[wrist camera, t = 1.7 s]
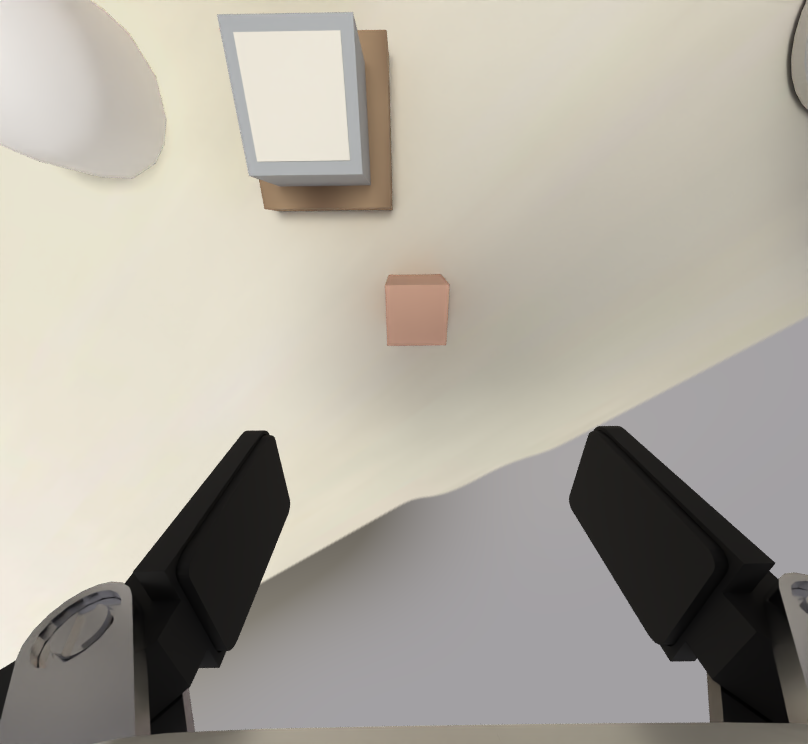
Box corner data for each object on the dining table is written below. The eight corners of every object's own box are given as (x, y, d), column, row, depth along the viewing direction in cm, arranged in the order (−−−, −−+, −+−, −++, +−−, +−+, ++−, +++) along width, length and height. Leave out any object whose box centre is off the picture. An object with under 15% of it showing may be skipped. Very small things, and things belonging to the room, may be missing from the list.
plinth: (388, 54, 22) (386, 29, 19) (392, 209, 26) (391, 207, 23) (252, 56, 22) (231, 32, 19) (279, 211, 26) (264, 208, 24)
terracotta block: (440, 274, 29) (449, 284, 23) (438, 324, 31) (446, 345, 25) (388, 274, 29) (385, 285, 23) (390, 325, 31) (387, 345, 25)
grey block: (364, 61, 20) (352, 11, 15) (370, 185, 23) (362, 174, 18) (259, 63, 20) (216, 13, 15) (279, 186, 23) (248, 175, 18)
